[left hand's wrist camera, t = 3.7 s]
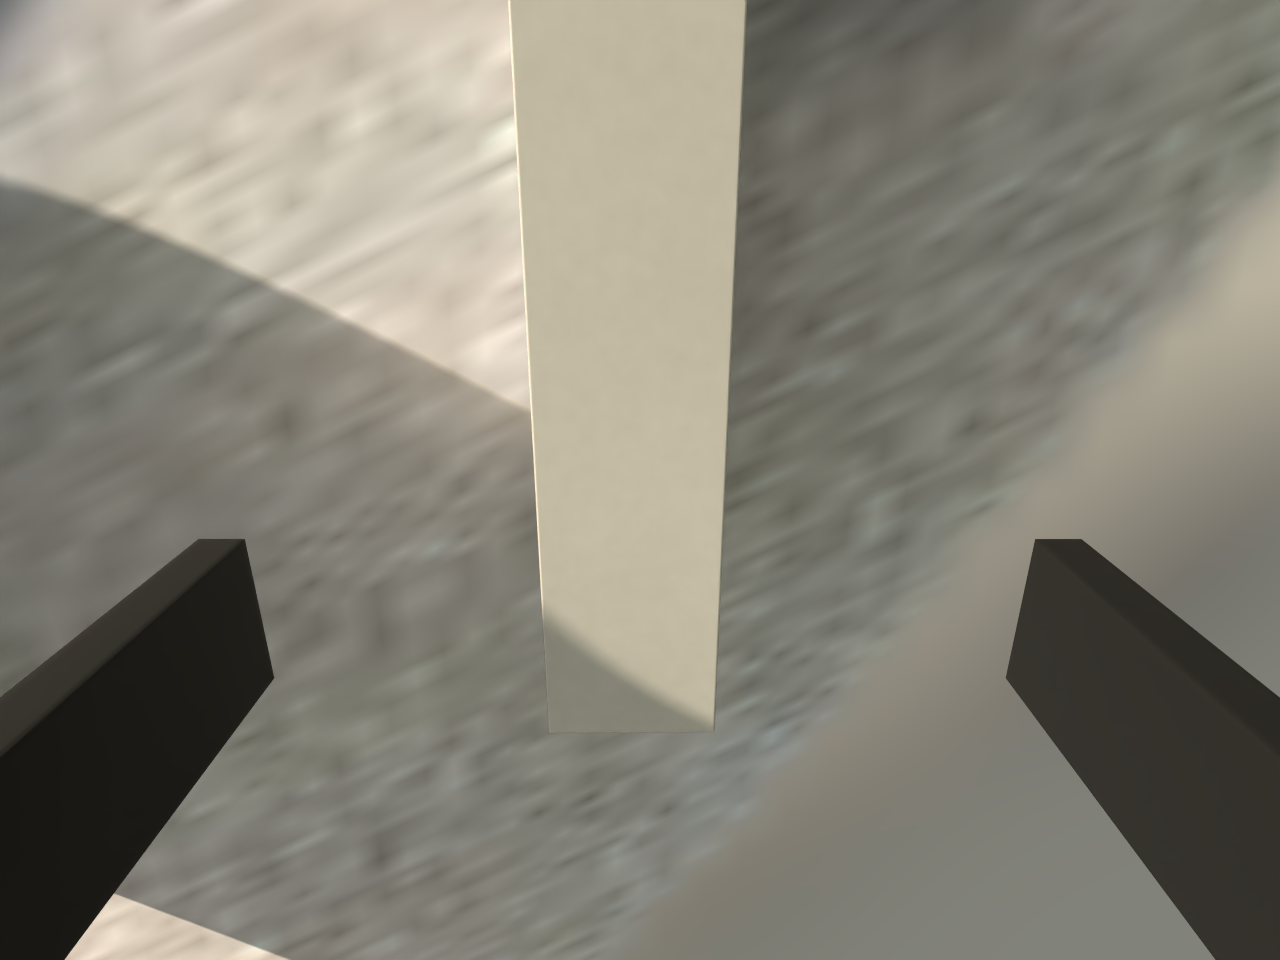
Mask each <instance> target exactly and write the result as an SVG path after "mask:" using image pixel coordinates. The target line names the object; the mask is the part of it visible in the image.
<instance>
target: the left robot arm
mask: <svg viewBox="0 0 1280 960" xmlns="http://www.w3.org/2000/svg"><path fill="white" fill-rule="evenodd" d="M273 679H274V675H273V670H272V666H271V661H270V656H269V651H268V647H267V642H266V637H265V633H264V628H263V623H262V618H261V614H260V609H259V604H258V600H257V595H256V590H255V585H254V581H253V576H252V571H251V567H250V562H249V557H248V552H247V548H246V543H245V539H198V540H197V541H196V542H194V543H193V544H192V545H191V546H189V547H188V548H187V549H186V550H184V551H183V552H182V553H181V554H179V555H178V556H177V557H176V558H174V559H173V560H172V561H171V562H169V563H168V564H167V565H166V566H164V567H163V568H162V569H161V570H159V571H158V572H157V573H156V574H154V575H153V576H152V577H151V578H149V579H148V580H147V581H146V582H144V583H143V584H142V585H141V586H139V587H138V588H137V589H136V590H134V591H133V592H132V593H131V594H129V595H128V596H127V597H126V598H124V599H123V600H122V601H121V602H119V603H118V604H117V605H116V606H114V607H113V608H112V609H111V610H109V611H108V612H107V613H106V614H104V615H103V616H102V617H101V618H99V619H98V620H97V621H96V622H94V623H93V624H92V625H91V626H89V627H88V628H87V629H86V630H84V631H83V632H82V633H81V634H79V635H78V636H77V637H76V638H74V639H73V640H72V641H71V642H69V643H68V644H67V645H66V646H64V647H63V648H62V649H61V650H59V651H58V652H57V653H56V654H54V655H53V656H52V657H51V658H49V659H48V660H47V661H46V662H44V663H43V664H42V665H41V666H39V667H38V668H37V669H35V670H34V671H33V672H32V673H30V674H29V675H28V676H27V677H25V678H24V679H23V680H22V681H20V682H19V683H18V684H17V685H15V686H14V687H13V688H12V689H10V690H9V691H8V692H7V693H5V694H4V695H3V696H2V697H0V960H65V958H66V957H67V956H68V954H69V953H70V951H71V950H72V949H73V947H74V946H75V945H76V943H77V942H78V941H79V939H80V938H81V937H82V935H83V934H84V933H85V931H86V930H87V929H88V927H89V926H90V925H91V923H92V922H93V921H94V919H95V918H96V917H97V915H98V914H99V913H100V911H101V910H102V909H103V907H104V906H105V904H106V903H107V902H108V900H109V899H110V898H111V896H112V895H113V894H114V892H115V891H116V890H117V888H118V887H119V886H120V884H121V883H122V882H123V880H124V879H125V878H126V876H127V875H128V874H129V872H130V871H131V870H132V868H133V867H134V866H135V864H136V863H137V861H138V860H139V859H140V857H141V856H142V855H143V853H144V852H145V851H146V849H147V848H148V847H149V845H150V844H151V843H152V841H153V840H154V839H155V837H156V836H157V835H158V833H159V832H160V831H161V829H162V828H163V827H164V825H165V824H166V823H167V821H168V820H169V819H170V817H171V816H172V814H173V813H174V812H175V810H176V809H177V808H178V806H179V805H180V804H181V802H182V801H183V800H184V798H185V797H186V796H187V794H188V793H189V792H190V790H191V789H192V788H193V786H194V785H195V784H196V782H197V781H198V780H199V778H200V777H201V776H202V774H203V773H204V772H205V770H206V769H207V767H208V766H209V765H210V763H211V762H212V761H213V759H214V758H215V757H216V755H217V754H218V753H219V751H220V750H221V749H222V747H223V746H224V745H225V743H226V742H227V741H228V739H229V738H230V737H231V735H232V734H233V733H234V731H235V730H236V729H237V727H238V726H239V725H240V723H241V722H242V720H243V719H244V718H245V716H246V715H247V714H248V712H249V711H250V710H251V708H252V707H253V706H254V704H255V703H256V702H257V700H258V699H259V698H260V696H261V695H262V694H263V692H264V691H265V690H266V688H267V687H268V686H269V684H270V683H271V682H272V680H273ZM1006 679H1007V680H1008V681H1009V683H1010V684H1011V686H1012V687H1013V688H1014V689H1015V691H1016V692H1017V694H1018V695H1019V696H1020V698H1021V699H1022V700H1023V702H1024V703H1025V704H1026V706H1027V707H1028V708H1029V710H1030V711H1031V712H1032V714H1033V715H1034V716H1035V718H1036V719H1037V720H1038V722H1039V723H1040V725H1041V726H1042V727H1043V729H1044V730H1045V731H1046V733H1047V734H1048V735H1049V737H1050V738H1051V739H1052V741H1053V742H1054V743H1055V745H1056V746H1057V747H1058V749H1059V750H1060V751H1061V753H1062V754H1063V755H1064V757H1065V758H1066V759H1067V761H1068V762H1069V763H1070V765H1071V766H1072V767H1073V769H1074V770H1075V772H1076V773H1077V774H1078V776H1079V777H1080V778H1081V780H1082V781H1083V782H1084V784H1085V785H1086V786H1087V788H1088V789H1089V790H1090V792H1091V793H1092V794H1093V796H1094V797H1095V798H1096V800H1097V801H1098V802H1099V804H1100V805H1101V806H1102V808H1103V809H1104V810H1105V812H1106V813H1107V814H1108V816H1109V817H1110V818H1111V820H1112V821H1113V823H1114V824H1115V825H1116V826H1117V828H1118V829H1119V831H1120V832H1121V833H1122V835H1123V836H1124V837H1125V839H1126V840H1127V841H1128V843H1129V844H1130V845H1131V847H1132V848H1133V849H1134V851H1135V852H1136V853H1137V855H1138V856H1139V857H1140V859H1141V860H1142V861H1143V863H1144V864H1145V866H1146V867H1147V868H1148V870H1149V871H1150V872H1151V874H1152V875H1153V876H1154V878H1155V879H1156V880H1157V882H1158V883H1159V884H1160V886H1161V887H1162V888H1163V890H1164V891H1165V892H1166V894H1167V895H1168V896H1169V898H1170V899H1171V900H1172V902H1173V903H1174V904H1175V906H1176V907H1177V908H1178V910H1179V911H1180V913H1181V914H1182V915H1183V917H1184V918H1185V919H1186V921H1187V922H1188V923H1189V925H1190V926H1191V927H1192V929H1193V930H1194V931H1195V933H1196V934H1197V935H1198V937H1199V938H1200V939H1201V941H1202V942H1203V943H1204V945H1205V946H1206V947H1207V949H1208V950H1209V951H1210V953H1211V954H1212V956H1213V957H1214V958H1215V959H1216V960H1280V697H1278V696H1277V695H1276V694H1274V693H1273V692H1272V691H1271V690H1270V689H1268V688H1267V687H1266V686H1264V685H1263V684H1262V683H1261V682H1260V681H1258V680H1257V679H1256V678H1254V677H1253V676H1252V675H1251V674H1250V673H1248V672H1247V671H1246V670H1244V669H1243V668H1242V667H1241V666H1239V665H1238V664H1237V663H1236V662H1234V661H1233V660H1232V659H1231V658H1229V657H1228V656H1227V655H1226V654H1224V653H1223V652H1222V651H1221V650H1219V649H1218V648H1217V647H1216V646H1214V645H1213V644H1212V643H1211V642H1209V641H1208V640H1207V639H1206V638H1204V637H1203V636H1202V635H1201V634H1199V633H1198V632H1197V631H1196V630H1194V629H1193V628H1192V627H1191V626H1189V625H1188V624H1187V623H1186V622H1184V621H1183V620H1182V619H1181V618H1179V617H1178V616H1177V615H1176V614H1174V613H1173V612H1172V611H1171V610H1169V609H1168V608H1167V607H1166V606H1164V605H1163V604H1162V603H1161V602H1159V601H1158V600H1157V599H1156V598H1154V597H1153V596H1152V595H1151V594H1149V593H1148V592H1147V591H1146V590H1144V589H1143V588H1142V587H1141V586H1139V585H1138V584H1137V583H1136V582H1134V581H1133V580H1132V579H1131V578H1129V577H1128V576H1127V575H1126V574H1124V573H1123V572H1122V571H1121V570H1119V569H1118V568H1117V567H1116V566H1114V565H1113V564H1112V563H1111V562H1109V561H1108V560H1107V559H1106V558H1104V557H1103V556H1102V555H1100V554H1099V553H1098V552H1097V551H1096V550H1094V549H1093V548H1092V547H1091V546H1089V545H1088V544H1087V543H1085V542H1084V541H1083V540H1082V539H1035V543H1034V548H1033V552H1032V557H1031V562H1030V567H1029V571H1028V576H1027V581H1026V586H1025V590H1024V595H1023V600H1022V604H1021V609H1020V614H1019V618H1018V623H1017V628H1016V633H1015V637H1014V642H1013V647H1012V651H1011V656H1010V661H1009V666H1008V670H1007V675H1006Z"/></svg>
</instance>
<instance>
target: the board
mask: <svg viewBox="0 0 1280 960" xmlns="http://www.w3.org/2000/svg"><path fill="white" fill-rule="evenodd" d="M508 4H509V22H510V40H511V58H512V76H513V94H514V112H515V131H516V149H517V167H518V185H519V203H520V221H521V239H522V257H523V275H524V293H525V312H526V330H527V348H528V366H529V384H530V402H531V420H532V438H533V456H534V474H535V493H536V511H537V529H538V547H539V565H540V583H541V601H542V619H543V637H544V655H545V674H546V692H547V710H548V728H549V733H623V732H714V728H715V706H716V684H717V662H718V640H719V618H720V595H721V573H722V551H723V529H724V507H725V484H726V462H727V440H728V418H729V396H730V374H731V351H732V329H733V307H734V285H735V263H736V240H737V218H738V196H739V174H740V152H741V130H742V107H743V85H744V63H745V41H746V19H747V0H508Z"/></svg>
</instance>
